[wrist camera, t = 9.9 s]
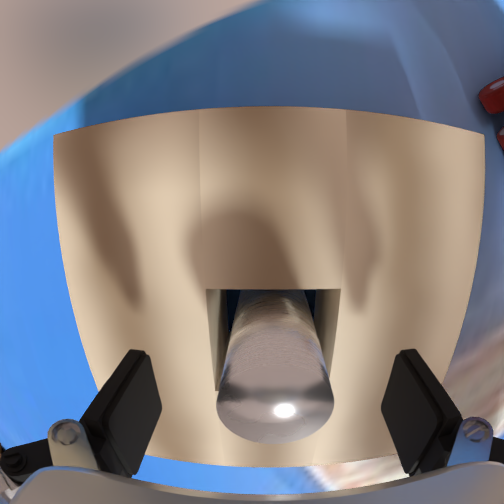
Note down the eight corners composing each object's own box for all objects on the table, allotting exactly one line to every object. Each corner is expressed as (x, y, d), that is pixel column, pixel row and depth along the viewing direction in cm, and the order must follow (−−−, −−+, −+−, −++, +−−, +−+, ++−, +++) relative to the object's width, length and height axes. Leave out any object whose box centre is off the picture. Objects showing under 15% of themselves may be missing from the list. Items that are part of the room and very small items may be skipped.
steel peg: (305, 264, 18) (342, 363, 8) (302, 322, 19) (325, 441, 9) (239, 264, 18) (210, 363, 9) (241, 322, 19) (220, 442, 10)
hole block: (426, 141, 15) (484, 134, 10) (387, 399, 21) (410, 450, 15) (111, 141, 16) (53, 135, 11) (148, 398, 22) (124, 449, 16)
